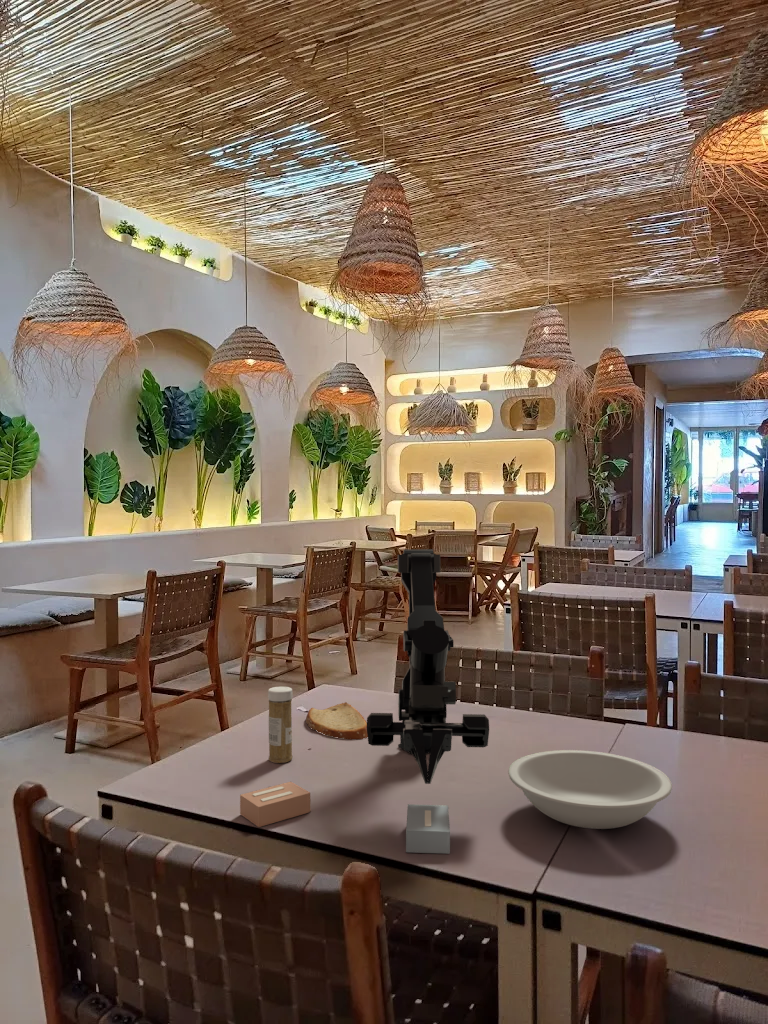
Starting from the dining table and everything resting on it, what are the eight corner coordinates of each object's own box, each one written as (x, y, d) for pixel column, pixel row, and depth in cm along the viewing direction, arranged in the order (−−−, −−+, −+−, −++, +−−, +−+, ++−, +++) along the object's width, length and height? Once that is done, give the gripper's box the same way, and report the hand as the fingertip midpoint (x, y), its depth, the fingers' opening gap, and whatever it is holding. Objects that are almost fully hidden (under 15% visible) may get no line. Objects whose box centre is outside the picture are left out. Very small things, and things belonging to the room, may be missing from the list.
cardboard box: (290, 780, 120) (240, 793, 115) (310, 791, 115) (258, 805, 110) (290, 801, 120) (240, 815, 115) (310, 812, 115) (258, 828, 110)
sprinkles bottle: (296, 761, 139) (296, 689, 139) (274, 765, 136) (274, 692, 136) (285, 754, 143) (285, 684, 143) (264, 758, 140) (263, 687, 140)
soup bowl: (622, 784, 127) (622, 745, 127) (706, 846, 104) (706, 799, 104) (488, 793, 123) (487, 754, 123) (543, 861, 99) (543, 811, 99)
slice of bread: (363, 743, 151) (363, 724, 151) (284, 734, 157) (284, 716, 157) (392, 719, 168) (392, 703, 168) (320, 712, 174) (319, 696, 174)
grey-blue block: (407, 803, 111) (406, 829, 102) (448, 804, 110) (450, 830, 101) (407, 825, 111) (405, 853, 102) (447, 826, 110) (449, 854, 101)
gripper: (367, 661, 115) (361, 755, 104) (488, 662, 114) (494, 757, 103) (371, 699, 123) (365, 790, 112) (484, 700, 122) (490, 793, 111)
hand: (427, 782), depth 109 cm, fingers closed
